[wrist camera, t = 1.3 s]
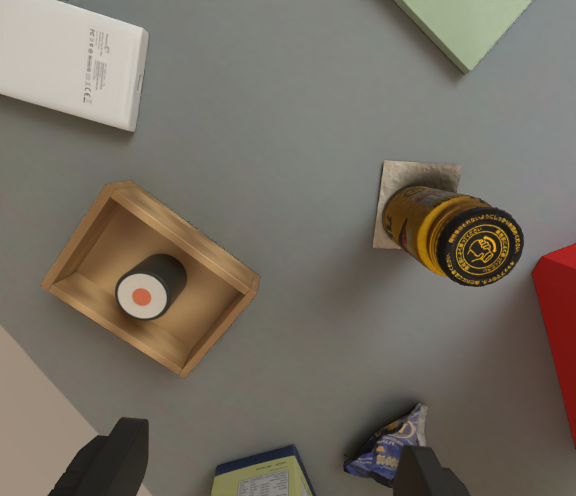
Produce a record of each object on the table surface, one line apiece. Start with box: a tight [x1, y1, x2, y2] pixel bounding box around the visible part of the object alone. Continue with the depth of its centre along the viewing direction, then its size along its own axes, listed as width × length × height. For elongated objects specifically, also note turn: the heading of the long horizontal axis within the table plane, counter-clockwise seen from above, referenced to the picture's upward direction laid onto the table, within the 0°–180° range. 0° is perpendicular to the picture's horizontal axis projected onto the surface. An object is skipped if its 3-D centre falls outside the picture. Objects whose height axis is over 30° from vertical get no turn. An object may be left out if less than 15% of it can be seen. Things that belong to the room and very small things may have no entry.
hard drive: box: [0, 0, 149, 132], centre depth 27 cm, size 2×8×12 cm
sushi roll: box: [115, 254, 187, 321], centre depth 30 cm, size 5×5×5 cm
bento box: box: [40, 180, 260, 378], centre depth 31 cm, size 16×12×4 cm
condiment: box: [373, 161, 524, 287], centre depth 25 cm, size 7×8×12 cm
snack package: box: [343, 402, 428, 488], centre depth 37 cm, size 12×6×12 cm
